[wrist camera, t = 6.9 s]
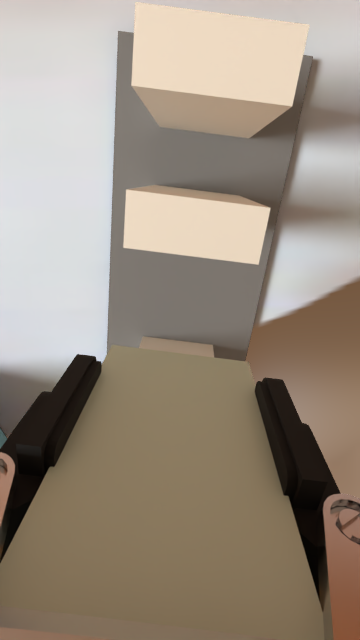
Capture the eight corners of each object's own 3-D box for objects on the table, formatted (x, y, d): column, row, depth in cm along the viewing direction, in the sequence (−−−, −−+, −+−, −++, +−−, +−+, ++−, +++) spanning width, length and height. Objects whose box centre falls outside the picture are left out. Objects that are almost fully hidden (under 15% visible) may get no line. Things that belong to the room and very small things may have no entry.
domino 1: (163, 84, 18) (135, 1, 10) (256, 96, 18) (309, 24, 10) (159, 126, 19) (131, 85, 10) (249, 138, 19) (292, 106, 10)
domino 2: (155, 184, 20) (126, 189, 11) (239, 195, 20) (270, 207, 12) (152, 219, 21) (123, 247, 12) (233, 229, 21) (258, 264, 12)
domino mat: (120, 35, 17) (118, 30, 17) (310, 59, 18) (313, 56, 17) (105, 427, 28) (104, 431, 27) (225, 442, 28) (226, 446, 27)
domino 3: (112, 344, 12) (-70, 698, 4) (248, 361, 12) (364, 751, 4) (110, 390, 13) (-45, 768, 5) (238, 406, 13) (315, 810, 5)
